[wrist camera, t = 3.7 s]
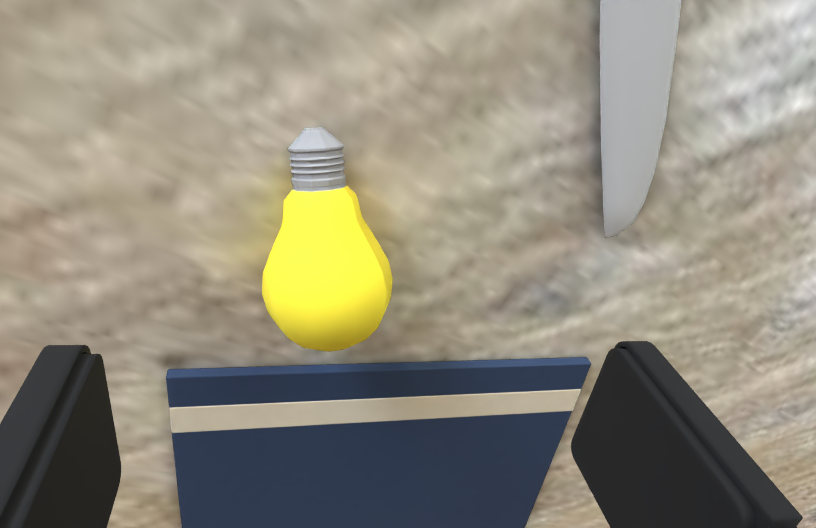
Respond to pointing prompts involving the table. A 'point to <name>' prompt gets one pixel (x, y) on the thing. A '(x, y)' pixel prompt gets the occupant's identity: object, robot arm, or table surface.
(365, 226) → the light bulb
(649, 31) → the butter knife
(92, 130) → the table surface
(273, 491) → the dish cloth
